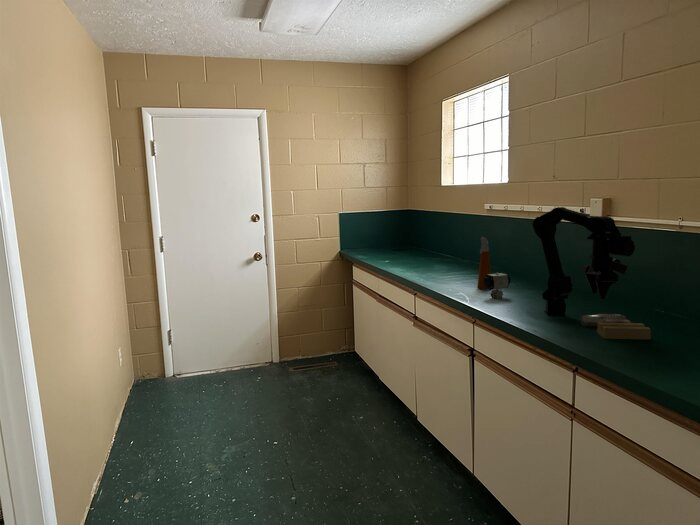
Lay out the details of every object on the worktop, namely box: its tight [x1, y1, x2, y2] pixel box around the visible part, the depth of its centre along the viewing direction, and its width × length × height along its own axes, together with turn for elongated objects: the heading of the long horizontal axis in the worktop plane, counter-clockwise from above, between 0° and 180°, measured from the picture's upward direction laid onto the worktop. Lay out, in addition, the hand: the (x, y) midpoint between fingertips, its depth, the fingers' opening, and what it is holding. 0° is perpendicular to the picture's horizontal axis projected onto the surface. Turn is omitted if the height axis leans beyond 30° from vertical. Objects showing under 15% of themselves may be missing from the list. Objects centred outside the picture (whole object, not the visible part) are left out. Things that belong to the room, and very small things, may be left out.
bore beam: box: [595, 313, 632, 323], centre depth 172 cm, size 8×10×3 cm
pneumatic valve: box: [484, 271, 512, 300], centre depth 218 cm, size 6×12×12 cm, turn 111°
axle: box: [580, 314, 627, 327], centre depth 172 cm, size 14×4×4 cm, turn 81°
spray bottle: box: [476, 236, 492, 290], centre depth 238 cm, size 7×11×26 cm, turn 146°
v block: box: [596, 322, 652, 340], centre depth 160 cm, size 14×7×4 cm, turn 81°
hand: (598, 296), depth 171 cm, fingers open, 9 cm apart
